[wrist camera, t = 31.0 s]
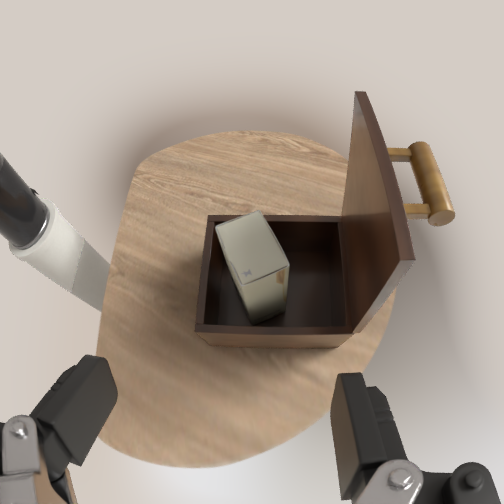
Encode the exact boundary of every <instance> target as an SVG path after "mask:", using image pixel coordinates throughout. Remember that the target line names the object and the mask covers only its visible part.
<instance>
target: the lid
mask: <svg viewBox="0 0 504 504" xmlns="http://www.w3.org/2000/svg"><path fill="white" fill-rule="evenodd" d="M392 162H410V164H411V167H412V170H413V173H414V176H415V179H416V182H417V185H418V188H419V191H420V195H421V198H422V201H423V204H403V201H402V197H401V193H400V189H399V186H398V183H397V179H396V176H395V172H394V169H393V166H392ZM454 218H455V212H454V209H453V206H452V203H451V200H450V197H449V194H448V191H447V188H446V186H445V183H444V180H443V178H442V175H441V173H440V170H439V168H438V165H437V162H436V160H435V158H434V156H433V153H432V151H431V148H430V146H429V145H428V144H427V143H425V142H416V143H413V144H411V145H410V146H409V147H408V148H407V149H406V148H387V147H386V144H385V141H384V138H383V136H382V133H381V130H380V127H379V124H378V122H377V119H376V116H375V114H374V111H373V108H372V106H371V103H370V101H369V99H368V96H367V94H366V92H361V91H355V97H354V110H353V122H352V133H351V143H350V153H349V161H348V170H347V178H346V186H345V193H344V200H343V207H342V222H343V230H344V239H345V248H346V258H347V269H348V280H349V293H350V308H351V326H352V333H360V332H361V331H362V330H363V329H364V327H365V326H366V325H367V324H368V323H369V321H370V320H371V319H372V318H373V316H374V315H375V314H376V313H377V311H378V310H379V309H380V307H381V306H382V305H383V304H384V302H385V301H386V300H387V298H388V297H389V296H390V294H391V293H392V292H393V290H394V289H395V288H396V286H397V285H398V284H399V282H400V281H401V280H402V278H403V277H404V275H405V274H406V273H407V271H408V270H409V268H410V267H411V266H412V264H413V263H414V261H415V260H416V258H415V253H414V248H413V243H412V238H411V234H410V229H409V225H408V221H407V219H428V222H429V224H430V225H432V226H442V225H446V224H448V223H450V222H451V221H452V220H453V219H454Z"/></svg>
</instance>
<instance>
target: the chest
mask: <svg viewBox="0 0 504 504" xmlns="http://www.w3.org/2000/svg"><path fill="white" fill-rule="evenodd" d="M240 216H243V215H208V219H207V227H206V235H205V242H204V250H203V259H202V267H201V276H200V285H199V294H198V303H197V313H196V325H195V332H196V333H197V334H198V335H199V336H200V337H201V338H203V339H204V340H205V341H206V342H207V343H208V344H209V345H211V346H224V347H248V348H337V347H339V346H340V345H341V344H342V343H344V342H345V341H346V340H347V339H349V338H350V337H351V336H352V335H354V333H352V326H351V308H350V293H349V280H348V269H347V258H346V248H345V239H344V230H343V222H342V216H311V215H263V216H264V218H265V220H266V221H267V223H268V224H269V226H270V228H271V229H272V231H273V233H274V235H275V237H276V238H277V240H278V242H279V244H280V246H281V247H282V249H283V251H284V253H285V255H286V258H287V260H288V262H289V265H290V266H289V277H288V289H287V301H286V311H285V312H283V313H281V314H279V315H277V316H275V317H272V318H270V319H268V320H265V321H263V322H260V323H258V324H255V325H252V323H251V321H250V319H249V317H248V315H247V313H246V311H245V309H244V307H243V305H242V302H241V300H240V298H239V295H238V293H237V291H236V288H235V286H234V283H233V280H232V277H231V274H230V271H229V268H228V265H227V262H226V259H225V257H224V254H223V251H222V248H221V245H220V242H219V238H218V235H217V232H216V229H215V228H216V226H217V225H219V224H222V223H224V222H227V221H230V220H232V219H235V218H238V217H240Z"/></svg>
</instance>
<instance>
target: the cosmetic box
mask: <svg viewBox="0 0 504 504" xmlns="http://www.w3.org/2000/svg"><path fill="white" fill-rule="evenodd" d="M215 229H216V232H217V235H218V238H219V242H220V245H221V248H222V251H223V254H224V257H225V259H226V262H227V265H228V268H229V271H230V274H231V277H232V280H233V283H234V286H235V288H236V291H237V293H238V295H239V298H240V300H241V302H242V305H243V307H244V309H245V311H246V313H247V315H248V317H249V319H250V321H251V323H252V325H255V324H258V323H260V322H263V321H265V320H268V319H270V318H272V317H275V316H277V315H279V314H281V313H283V312H285V311H286V301H287V289H288V277H289V266H290V265H289V262H288V260H287V258H286V255H285V253H284V251H283V249H282V247H281V246H280V244H279V242H278V240H277V238H276V237H275V235H274V233H273V231H272V229H271V228H270V226H269V224H268V223H267V221H266V220H265V218H264V216H263V215H262V213H261V211H260V210H257V211H255V212H252V213H249V214H246V215H243V216H240V217H238V218H235V219H232V220H230V221H227V222H224V223H222V224H219V225H217V226H216V228H215Z"/></svg>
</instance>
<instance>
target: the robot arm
mask: <svg viewBox="0 0 504 504" xmlns="http://www.w3.org/2000/svg"><path fill="white" fill-rule="evenodd" d="M35 193H36V194H38V193H37V192H36V191H35V190H33V189H31V188H29V186H28V185H27V184H26V183H25V182H24V181H23V180H22V178H21V177H20V176H19V175H18V174H17V173H16V171H14V169H13V168H12V167H11V165H10V164H9V163H8V162H7V160H6V159H5V158H4V157H3V155H2V154H1V153H0V234H1V235H2V236H3V237H5V238H6V239H7V240H8V241H9V242H11V243H12V245H13V246H15V247H16V248H17V249H19V250H26V249H28V248H30V247H32V246H33V245H34V244H36V243H37V242H38V240H39V239H40V238H41V237H42V235H43V234H44V232H45V230H46V228H47V226H48V223H49V218H50V212H49V209H48V207H47V206H46V205H45V204H44V203H43V202H42V201H41V200H40V199H39V198H38V197H37V196H36V195H35ZM117 396H118V392H117V387H116V384H115V382H114V379H113V376H112V373H111V370H110V367H109V364H108V361H107V360H106V359H105V358H103V357H97V356H92V355H85V356H84V357H83V358H82V359H81V360H80V361H79V363H78V364H77V365H74V366H72V367H71V368H69V369H68V370H66V371H65V372H63V374H62V375H61V376H60V377H59V379H58V380H57V381H56V383H54V385H53V386H52V387H51V390H49V391H48V392H47V393H46V394H45V396H44V397H43V398H42V400H41V401H40V402H39V403H38V405H37V406H36V407H35V409H34V410H33V411H32V412H31V414H30V415H29V416H26V415H18V416H15V417H13V418H11V419H9V420H8V421H7V422H6V423H1V422H0V504H78V503H77V500H76V496H75V493H74V489H73V485H72V481H71V477H70V473H69V470H68V468H67V465H68V464H69V462H71V463H73V464H76V465H78V466H82V464H83V462H84V460H85V458H86V456H87V454H88V452H89V451H90V449H91V447H92V445H93V443H94V441H95V440H96V438H97V436H98V434H99V432H100V431H101V429H102V427H103V425H104V423H105V422H106V420H107V418H108V416H109V415H110V413H111V411H112V409H113V408H114V406H115V404H116V401H117ZM330 414H331V415H330V417H331V426H332V433H333V440H334V447H335V454H336V462H337V469H338V477H339V485H340V493H341V500H349V499H351V500H352V504H501V502H500V499H499V497H498V493H497V491H496V488H495V485H494V482H493V479H492V477H491V474H490V472H489V471H488V469H487V468H486V467H485V466H483V465H481V464H479V463H475V462H468V463H465V464H462V465H460V466H459V467H457V469H455V471H454V472H453V473H431V472H425V471H422V470H420V469H419V467H418V466H416V465H415V464H414V463H412V462H410V461H409V460H408V459H407V456H406V454H405V451H404V448H403V445H402V441H401V438H400V435H399V433H398V430H397V427H396V424H395V421H394V420H393V415H392V412H391V411H390V407H389V404H388V401H387V398H386V396H385V395H384V394H383V393H382V392H381V391H380V390H379V389H378V388H377V387H376V386H374V387H366V385H365V381H364V378H363V375H362V373H360V372H358V373H340V374H338V375H337V379H336V384H335V389H334V394H333V399H332V403H331V412H330Z"/></svg>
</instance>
